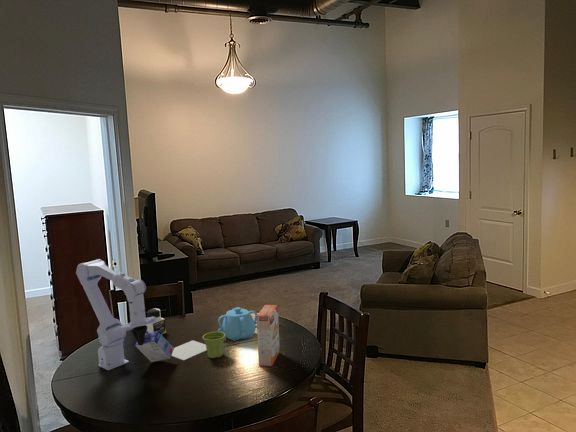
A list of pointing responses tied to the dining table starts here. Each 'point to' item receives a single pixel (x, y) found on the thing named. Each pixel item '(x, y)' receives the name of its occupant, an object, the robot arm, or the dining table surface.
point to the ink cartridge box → (155, 347)
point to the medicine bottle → (159, 323)
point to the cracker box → (268, 335)
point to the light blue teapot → (238, 324)
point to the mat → (188, 350)
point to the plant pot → (214, 343)
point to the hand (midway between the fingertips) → (140, 344)
